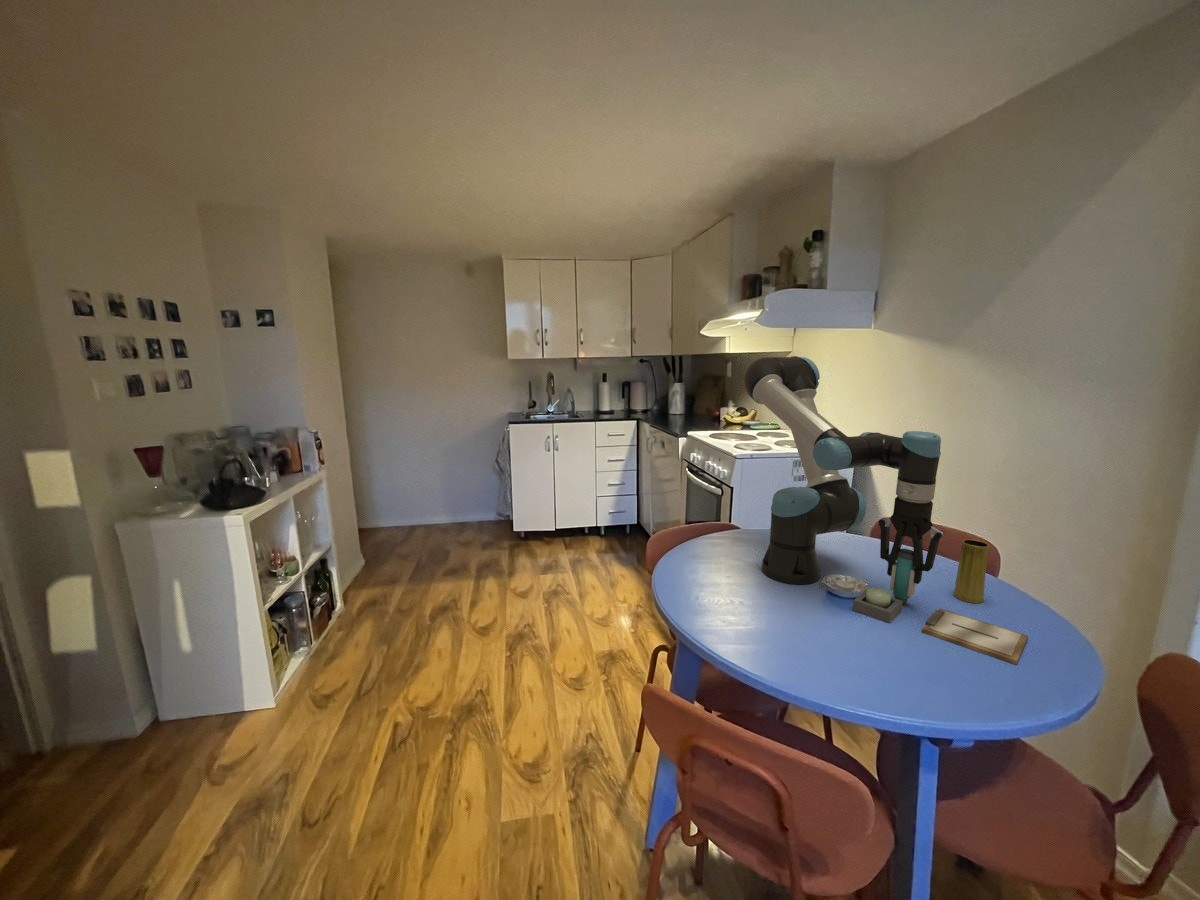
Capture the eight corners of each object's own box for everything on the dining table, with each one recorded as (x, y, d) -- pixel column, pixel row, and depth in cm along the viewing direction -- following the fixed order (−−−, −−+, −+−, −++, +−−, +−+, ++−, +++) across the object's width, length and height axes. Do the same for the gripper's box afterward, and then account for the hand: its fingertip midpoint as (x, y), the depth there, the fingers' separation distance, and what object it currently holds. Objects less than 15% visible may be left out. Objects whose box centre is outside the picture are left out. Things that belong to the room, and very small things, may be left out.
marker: (889, 601, 121) (895, 551, 118) (894, 596, 123) (901, 547, 120) (906, 607, 118) (913, 556, 115) (911, 602, 120) (918, 552, 118)
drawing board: (921, 632, 108) (922, 626, 107) (938, 611, 116) (939, 605, 116) (1016, 664, 96) (1017, 658, 96) (1027, 639, 105) (1028, 632, 104)
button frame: (852, 610, 117) (853, 600, 117) (865, 598, 122) (866, 589, 122) (889, 623, 111) (890, 612, 111) (901, 610, 117) (902, 600, 116)
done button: (862, 603, 117) (863, 592, 116) (870, 596, 120) (871, 585, 120) (885, 610, 113) (886, 599, 113) (893, 603, 116) (894, 592, 116)
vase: (989, 604, 119) (997, 548, 116) (960, 602, 120) (967, 546, 118) (975, 592, 125) (983, 539, 122) (948, 590, 126) (955, 537, 124)
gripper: (870, 494, 119) (860, 584, 123) (951, 510, 107) (936, 609, 112) (882, 488, 124) (871, 575, 128) (960, 502, 112) (945, 598, 117)
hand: (901, 591), depth 120 cm, fingers closed on marker, 3 cm apart
